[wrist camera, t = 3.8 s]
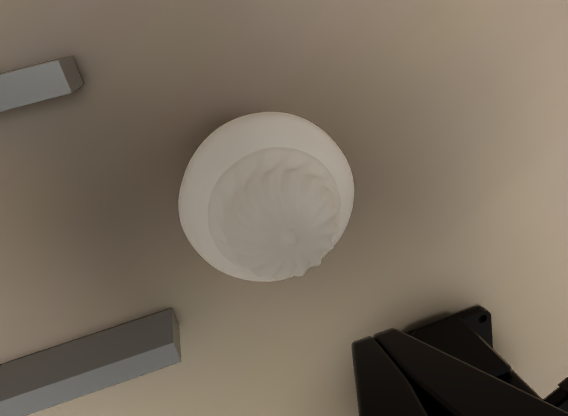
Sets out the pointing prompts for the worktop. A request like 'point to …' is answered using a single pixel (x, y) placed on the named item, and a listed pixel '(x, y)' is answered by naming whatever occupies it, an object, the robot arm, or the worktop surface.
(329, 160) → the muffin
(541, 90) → the worktop surface
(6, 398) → the frame
